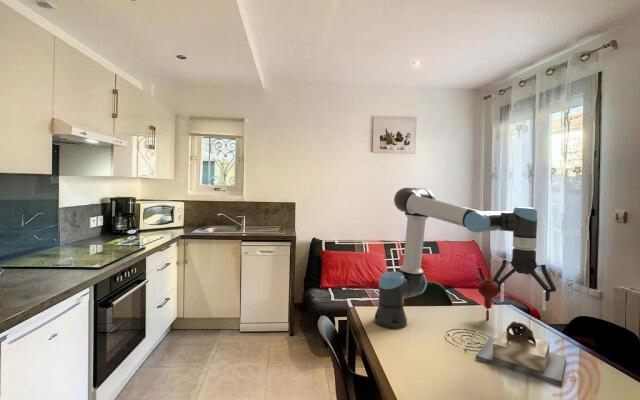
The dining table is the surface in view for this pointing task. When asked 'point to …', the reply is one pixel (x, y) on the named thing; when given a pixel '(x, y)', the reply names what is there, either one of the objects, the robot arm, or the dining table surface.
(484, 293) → the lantern
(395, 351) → the dining table surface
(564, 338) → the dining table surface
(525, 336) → the pottery mug
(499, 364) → the build base
